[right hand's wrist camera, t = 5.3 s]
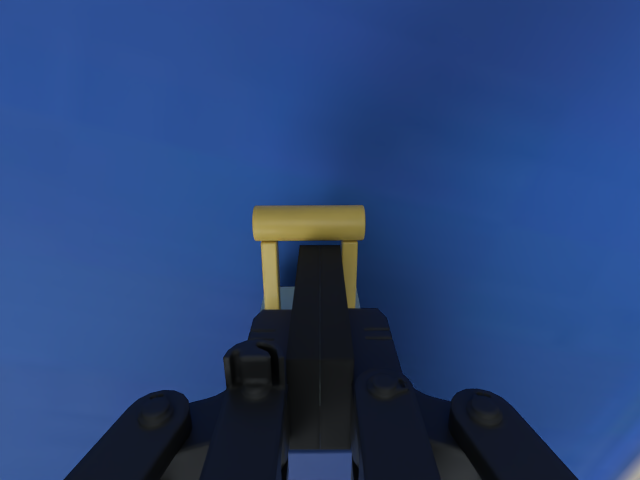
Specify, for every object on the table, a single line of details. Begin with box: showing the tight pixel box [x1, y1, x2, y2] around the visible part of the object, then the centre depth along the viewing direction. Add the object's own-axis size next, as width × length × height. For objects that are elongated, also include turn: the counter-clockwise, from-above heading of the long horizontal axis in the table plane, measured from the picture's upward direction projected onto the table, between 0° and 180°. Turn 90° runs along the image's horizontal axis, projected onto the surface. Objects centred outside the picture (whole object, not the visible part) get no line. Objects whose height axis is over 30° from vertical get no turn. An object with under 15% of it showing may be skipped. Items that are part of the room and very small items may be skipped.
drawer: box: [252, 205, 365, 312], centre depth 19 cm, size 23×4×7 cm, turn 0°
